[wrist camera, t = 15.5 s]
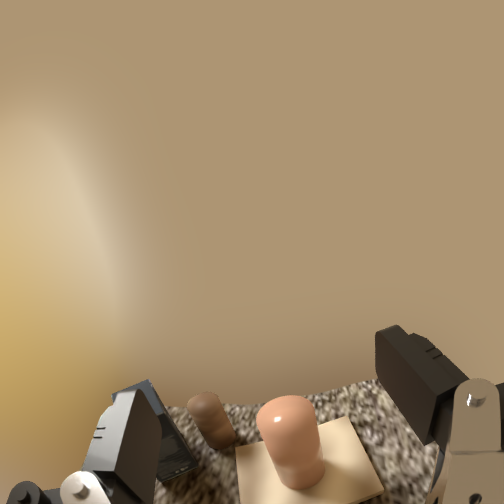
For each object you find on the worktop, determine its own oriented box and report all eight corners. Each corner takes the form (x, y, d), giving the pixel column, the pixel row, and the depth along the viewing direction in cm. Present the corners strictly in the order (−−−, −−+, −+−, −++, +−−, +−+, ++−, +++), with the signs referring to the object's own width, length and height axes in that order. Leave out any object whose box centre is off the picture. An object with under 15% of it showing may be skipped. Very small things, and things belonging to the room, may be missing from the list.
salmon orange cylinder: (282, 494, 24) (259, 443, 21) (275, 460, 29) (253, 403, 26) (330, 481, 24) (321, 426, 21) (319, 448, 29) (306, 389, 26)
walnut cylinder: (206, 451, 33) (185, 417, 31) (206, 430, 37) (187, 395, 35) (236, 446, 33) (219, 410, 31) (235, 424, 37) (218, 389, 35)
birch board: (246, 532, 21) (243, 529, 20) (237, 451, 32) (235, 447, 32) (383, 493, 21) (384, 489, 21) (347, 420, 33) (347, 415, 32)
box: (200, 466, 31) (164, 411, 28) (161, 484, 28) (117, 431, 25) (180, 431, 38) (148, 376, 35) (146, 446, 35) (109, 393, 32)
